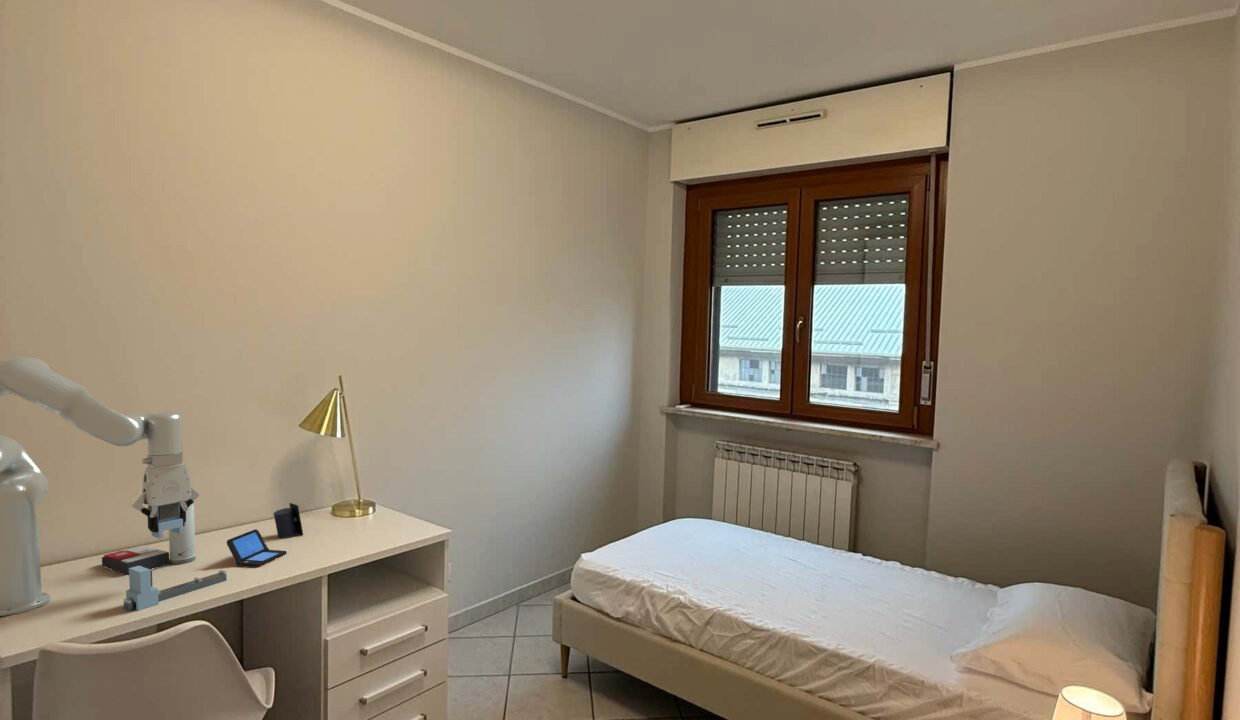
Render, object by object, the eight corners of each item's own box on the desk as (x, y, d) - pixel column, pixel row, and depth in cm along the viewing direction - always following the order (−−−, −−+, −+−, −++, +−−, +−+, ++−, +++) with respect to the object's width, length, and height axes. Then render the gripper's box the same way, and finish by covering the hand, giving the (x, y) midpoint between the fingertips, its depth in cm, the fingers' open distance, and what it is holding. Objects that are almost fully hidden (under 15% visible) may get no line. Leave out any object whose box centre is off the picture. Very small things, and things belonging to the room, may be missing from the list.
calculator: (144, 544, 201) (169, 549, 194) (144, 558, 201) (170, 564, 194) (100, 554, 192) (125, 560, 184) (101, 569, 192) (126, 576, 184)
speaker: (301, 530, 225) (297, 500, 224) (303, 535, 220) (299, 505, 219) (276, 536, 222) (272, 505, 220) (277, 541, 217) (273, 510, 215)
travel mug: (184, 565, 193) (181, 496, 192) (164, 563, 194) (162, 494, 193) (201, 557, 199) (199, 490, 198) (182, 556, 200) (180, 489, 199)
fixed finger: (158, 604, 165) (157, 567, 164) (137, 610, 161) (136, 573, 160) (147, 599, 167) (146, 563, 167) (126, 605, 164) (125, 569, 163)
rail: (128, 611, 160) (128, 601, 160) (123, 609, 162) (123, 599, 162) (226, 581, 180) (226, 571, 180) (221, 579, 181) (221, 569, 181)
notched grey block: (159, 538, 173) (158, 504, 173) (151, 535, 176) (150, 501, 175) (183, 533, 178) (182, 499, 177) (175, 530, 180) (174, 497, 180)
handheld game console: (258, 568, 190) (257, 542, 190) (225, 566, 192) (224, 540, 192) (288, 554, 202) (288, 529, 202) (257, 552, 205) (256, 528, 204)
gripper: (133, 467, 167) (135, 539, 167) (207, 456, 181) (209, 523, 182) (121, 463, 171) (123, 534, 172) (194, 453, 185) (195, 518, 186)
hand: (167, 527), depth 177 cm, fingers closed on notched grey block, 5 cm apart
